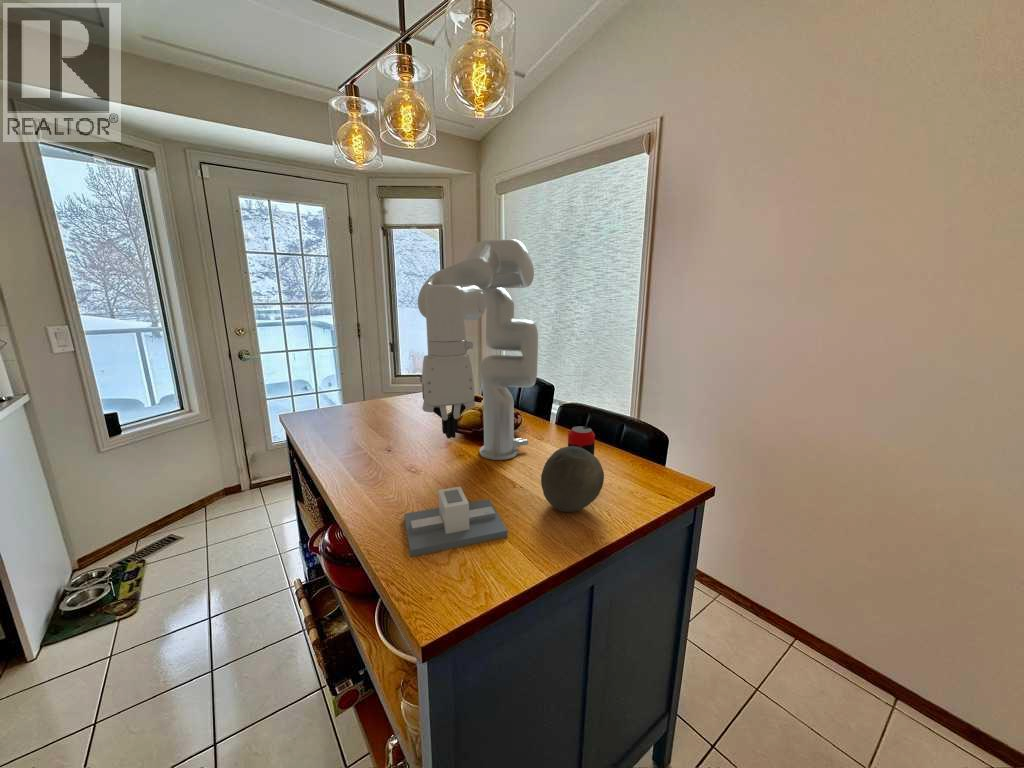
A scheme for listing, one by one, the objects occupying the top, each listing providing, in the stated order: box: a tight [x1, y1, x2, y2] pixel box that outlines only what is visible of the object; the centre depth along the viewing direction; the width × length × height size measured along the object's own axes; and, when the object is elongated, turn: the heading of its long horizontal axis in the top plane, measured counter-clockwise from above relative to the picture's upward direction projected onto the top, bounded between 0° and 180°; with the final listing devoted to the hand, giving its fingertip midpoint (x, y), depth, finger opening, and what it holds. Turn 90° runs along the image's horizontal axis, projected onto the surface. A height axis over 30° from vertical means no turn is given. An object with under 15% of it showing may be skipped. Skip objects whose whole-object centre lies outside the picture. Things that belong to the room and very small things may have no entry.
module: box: [437, 486, 469, 534], centre depth 87 cm, size 5×8×6 cm, turn 20°
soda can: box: [567, 425, 596, 456], centre depth 116 cm, size 8×8×12 cm
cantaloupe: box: [540, 445, 605, 513], centre depth 94 cm, size 14×14×15 cm
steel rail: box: [411, 506, 495, 533], centre depth 87 cm, size 18×3×1 cm, turn 109°
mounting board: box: [403, 498, 509, 558], centre depth 88 cm, size 20×14×2 cm
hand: (450, 435), depth 84 cm, fingers closed
